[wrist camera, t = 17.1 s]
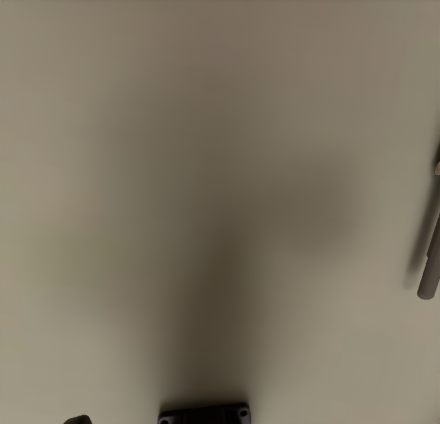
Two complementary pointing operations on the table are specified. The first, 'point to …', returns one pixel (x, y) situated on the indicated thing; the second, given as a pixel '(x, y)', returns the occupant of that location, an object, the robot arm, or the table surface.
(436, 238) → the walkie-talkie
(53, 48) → the table surface
